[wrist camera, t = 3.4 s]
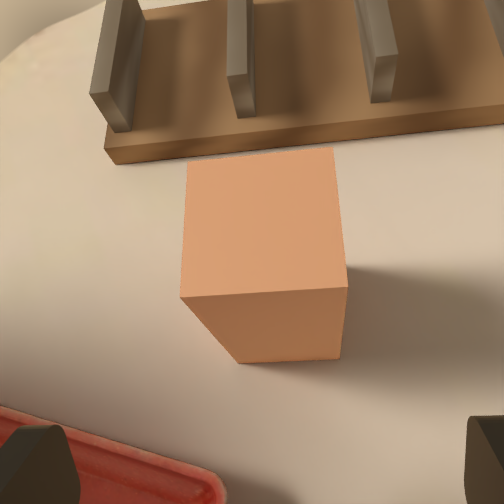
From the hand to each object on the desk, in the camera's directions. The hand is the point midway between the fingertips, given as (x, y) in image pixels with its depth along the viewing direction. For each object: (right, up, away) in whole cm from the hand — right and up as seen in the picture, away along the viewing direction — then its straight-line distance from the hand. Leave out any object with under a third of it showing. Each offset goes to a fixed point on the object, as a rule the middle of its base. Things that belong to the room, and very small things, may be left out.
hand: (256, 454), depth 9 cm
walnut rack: (+3, +15, +18) cm, 24 cm away
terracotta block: (+2, +1, +12) cm, 12 cm away
